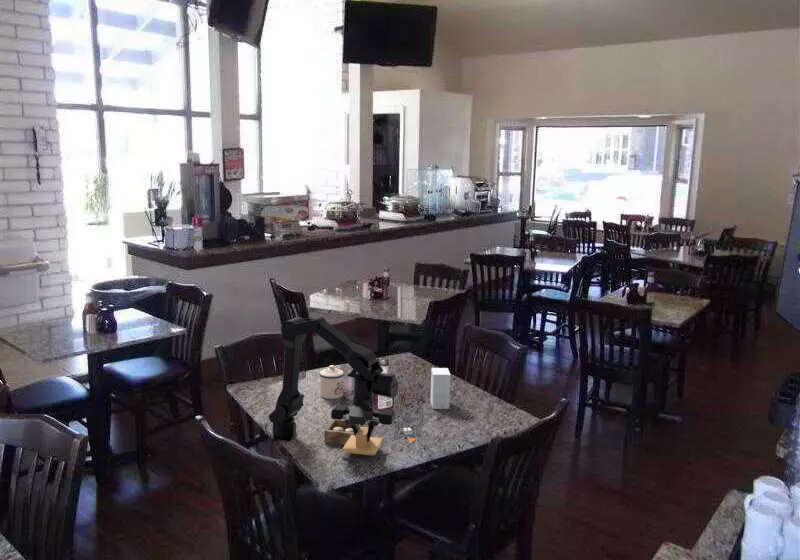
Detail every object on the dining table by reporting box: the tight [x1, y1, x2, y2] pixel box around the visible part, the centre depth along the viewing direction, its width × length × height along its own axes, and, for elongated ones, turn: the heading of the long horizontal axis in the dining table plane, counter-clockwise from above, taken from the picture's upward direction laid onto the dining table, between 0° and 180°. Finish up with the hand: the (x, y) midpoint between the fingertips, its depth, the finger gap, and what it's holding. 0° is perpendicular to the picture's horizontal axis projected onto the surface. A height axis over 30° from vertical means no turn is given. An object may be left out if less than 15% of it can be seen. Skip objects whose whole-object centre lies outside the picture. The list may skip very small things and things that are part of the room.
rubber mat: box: [342, 447, 383, 464], centre depth 205 cm, size 10×9×1 cm
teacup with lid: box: [319, 364, 345, 400], centre depth 255 cm, size 12×9×12 cm
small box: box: [430, 367, 452, 410], centre depth 246 cm, size 8×6×13 cm
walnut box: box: [324, 418, 364, 446], centre depth 217 cm, size 10×10×4 cm
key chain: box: [401, 427, 416, 443], centre depth 218 cm, size 13×4×2 cm, turn 12°
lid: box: [342, 426, 384, 455], centre depth 204 cm, size 10×10×6 cm
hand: (362, 440), depth 204 cm, fingers closed on lid, 3 cm apart
